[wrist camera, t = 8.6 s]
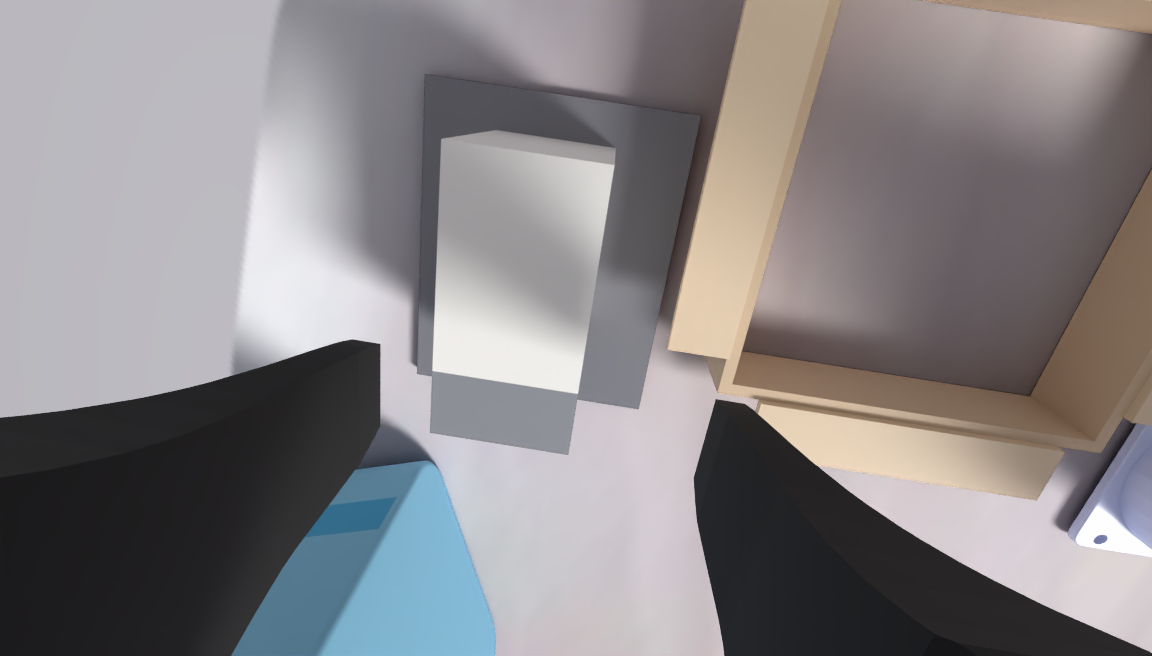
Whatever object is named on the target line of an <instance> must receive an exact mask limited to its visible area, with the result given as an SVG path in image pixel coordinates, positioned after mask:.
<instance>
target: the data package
mask: <svg viewBox="0 0 1152 656" xmlns="http://www.w3.org/2000/svg"><path fill="white" fill-rule="evenodd" d="M495 650H496V638H495V628H494V623H493V619H492V616H491V613H490V610H489V607H488V604H487V602H486V599H485V596H484V593H483V590H482V588H481V585H480V582H479V579H478V576H477V573H476V571H475V568H474V565H473V562H472V559H471V557H470V554H469V551H468V548H467V545H466V542H465V540H464V537H463V534H462V531H461V528H460V526H459V523H458V520H457V517H456V514H455V511H454V509H453V506H452V503H451V500H450V497H449V494H448V492H447V489H446V486H445V483H444V480H443V478H442V475H441V473H440V471H439V469H438V468H437V467H436V466H435V465H434V464H433V463H432V462H430V461H417V462H409V463H402V464H394V465H386V466H379V467H371V468H363V469H356V470H355V471H354V472H353V474H352V475H351V476H350V478H349V479H348V480H347V482H346V483H345V484H344V486H343V487H342V488H341V490H340V491H339V492H338V494H337V495H336V496H335V498H334V499H333V500H332V502H331V503H330V504H329V506H328V507H327V508H326V510H325V511H324V512H323V514H322V515H321V516H320V518H319V519H318V520H317V522H316V523H315V524H314V526H313V527H312V528H311V530H310V531H309V532H308V533H307V535H306V536H305V537H304V539H303V540H302V541H301V543H300V544H299V545H298V547H297V548H296V550H295V551H294V552H293V554H292V555H291V557H290V558H289V560H288V561H287V563H286V564H285V566H284V567H283V568H282V570H281V572H280V573H279V575H278V577H277V578H276V580H275V582H274V583H273V585H272V587H271V588H270V590H269V592H268V593H267V595H266V597H265V598H264V600H263V601H262V603H261V605H260V606H259V608H258V610H257V611H256V613H255V615H254V616H253V618H252V620H251V622H250V623H249V625H248V627H247V629H246V631H245V632H244V634H243V636H242V638H241V639H240V641H239V643H238V645H237V646H236V648H235V650H234V652H233V653H232V655H231V656H495Z"/></svg>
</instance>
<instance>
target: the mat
mask: <svg viewBox="0 0 1152 656" xmlns="http://www.w3.org/2000/svg"><path fill="white" fill-rule="evenodd" d="M700 119H701V115H694V114H687V113H681V112H674V111H667V110H661V109H654V108H647V107H641V106H634V105H627V104H621V103H614V102H607V101H601V100H594V99H587V98H581V97H574V96H567V95H561V94H554V93H547V92H541V91H534V90H527V89H521V88H514V87H507V86H501V85H494V84H487V83H481V82H474V81H467V80H461V79H454V78H447V77H441V76H434V75H427V74H425V90H424V128H423V166H422V204H421V243H420V281H419V319H418V357H417V374H421V375H427V376H432V366H433V340H434V314H435V288H436V263H437V237H438V211H439V185H440V159H441V139H444V138H450V137H456V136H462V135H469V134H475V133H481V132H487V131H494V130H500V131H507V132H513V133H520V134H527V135H533V136H540V137H546V138H553V139H560V140H566V141H573V142H579V143H586V144H593V145H599V146H606V147H612V148H616V153H615V166H614V172H613V178H612V185H611V191H610V197H609V203H608V210H607V216H606V222H605V228H604V235H603V241H602V247H601V253H600V260H599V266H598V272H597V278H596V285H595V291H594V297H593V303H592V310H591V316H590V322H589V328H588V335H587V341H586V347H585V353H584V359H583V366H582V372H581V378H580V384H579V391H578V397H577V399H578V400H584V401H590V402H596V403H603V404H609V405H615V406H622V407H628V408H634V409H639V405H640V400H641V396H642V391H643V386H644V382H645V377H646V372H647V367H648V363H649V358H650V353H651V349H652V344H653V339H654V335H655V330H656V325H657V321H658V316H659V311H660V306H661V302H662V297H663V292H664V288H665V283H666V278H667V274H668V269H669V264H670V260H671V255H672V250H673V245H674V241H675V236H676V231H677V227H678V222H679V217H680V213H681V208H682V203H683V199H684V194H685V189H686V184H687V180H688V175H689V170H690V166H691V161H692V156H693V152H694V147H695V142H696V138H697V133H698V128H699V123H700Z"/></svg>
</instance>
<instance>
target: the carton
mask: <svg viewBox="0 0 1152 656" xmlns="http://www.w3.org/2000/svg"><path fill="white" fill-rule="evenodd" d="M921 1H928V2H935V3H942V4H949V5H956V6H962V7H969V8H976V9H983V10H990V11H997V12H1004V13H1010V14H1017V15H1024V16H1031V17H1038V18H1045V19H1052V20H1059V21H1065V22H1072V23H1079V24H1086V25H1093V26H1100V27H1107V28H1114V29H1120V30H1127V31H1134V32H1141V33H1148V34H1152V0H921ZM841 2H842V0H744V5H743V9H742V14H741V18H740V22H739V27H738V31H737V36H736V40H735V45H734V49H733V54H732V58H731V62H730V67H729V71H728V76H727V80H726V85H725V89H724V94H723V98H722V103H721V107H720V111H719V116H718V120H717V125H716V129H715V134H714V138H713V143H712V147H711V151H710V156H709V160H708V165H707V169H706V174H705V178H704V183H703V187H702V191H701V196H700V200H699V205H698V209H697V214H696V218H695V223H694V227H693V232H692V236H691V240H690V245H689V249H688V254H687V258H686V263H685V267H684V272H683V276H682V280H681V285H680V289H679V294H678V298H677V303H676V307H675V312H674V316H673V320H672V325H671V329H670V334H669V338H668V343H667V349H668V350H672V351H679V352H685V353H691V354H698V355H704V356H705V359H706V362H707V364H708V367H709V370H710V373H711V376H712V379H713V382H714V384H715V387H716V390H717V393H722V394H728V395H734V396H740V397H747V398H753V399H759V401H758V404H757V407H756V410H755V412H756V413H757V414H758V415H760V416H761V417H762V418H763V419H764V420H765V421H766V422H768V423H769V424H770V425H771V426H772V427H773V428H774V429H775V430H777V431H778V432H779V433H780V434H781V435H782V436H783V437H784V438H785V439H787V440H788V441H789V442H790V443H791V444H792V445H793V446H794V447H796V448H797V449H798V450H799V451H800V452H801V453H802V454H804V455H805V456H806V457H807V458H808V459H809V460H811V461H812V462H813V463H814V464H815V465H818V466H824V467H830V468H836V469H843V470H849V471H855V472H861V473H868V474H874V475H880V476H886V477H893V478H899V479H905V480H911V481H918V482H924V483H930V484H936V485H943V486H949V487H955V488H961V489H968V490H974V491H980V492H986V493H993V494H999V495H1005V496H1011V497H1018V498H1024V499H1030V500H1036V501H1037V499H1038V498H1039V496H1040V494H1041V493H1042V491H1043V489H1044V487H1045V486H1046V484H1047V482H1048V481H1049V479H1050V477H1051V476H1052V474H1053V472H1054V471H1055V469H1056V467H1057V466H1058V464H1059V462H1060V461H1061V459H1062V457H1063V455H1064V454H1065V451H1063V450H1062V449H1061V448H1059V447H1063V448H1069V449H1075V450H1082V451H1088V452H1094V453H1101V452H1102V451H1103V449H1104V448H1105V446H1106V444H1107V443H1108V441H1109V440H1110V438H1111V436H1112V435H1113V433H1114V432H1115V430H1116V428H1117V427H1118V425H1119V424H1120V422H1121V420H1122V419H1123V418H1125V419H1126V420H1128V421H1130V422H1131V423H1137V424H1143V425H1149V426H1152V169H1151V171H1150V173H1149V175H1148V177H1147V179H1146V181H1145V183H1144V184H1143V186H1142V188H1141V190H1140V192H1139V194H1138V196H1137V197H1136V199H1135V201H1134V203H1133V205H1132V207H1131V209H1130V211H1129V212H1128V214H1127V216H1126V218H1125V220H1124V222H1123V224H1122V225H1121V227H1120V229H1119V231H1118V233H1117V235H1116V237H1115V239H1114V240H1113V242H1112V244H1111V246H1110V248H1109V250H1108V252H1107V253H1106V255H1105V257H1104V259H1103V261H1102V263H1101V265H1100V266H1099V268H1098V270H1097V272H1096V274H1095V276H1094V278H1093V280H1092V281H1091V283H1090V285H1089V287H1088V289H1087V291H1086V293H1085V294H1084V296H1083V298H1082V300H1081V302H1080V304H1079V306H1078V308H1077V309H1076V311H1075V313H1074V315H1073V317H1072V319H1071V321H1070V322H1069V324H1068V326H1067V328H1066V330H1065V332H1064V334H1063V336H1062V337H1061V339H1060V341H1059V343H1058V345H1057V347H1056V349H1055V350H1054V352H1053V354H1052V356H1051V358H1050V360H1049V362H1048V363H1047V365H1046V367H1045V369H1044V371H1043V373H1042V375H1041V377H1040V378H1039V380H1038V382H1037V384H1036V386H1035V388H1034V390H1033V391H1032V393H1031V395H1030V396H1024V395H1018V394H1011V393H1005V392H999V391H992V390H986V389H980V388H973V387H967V386H961V385H954V384H948V383H941V382H935V381H929V380H922V379H916V378H910V377H903V376H897V375H890V374H884V373H878V372H871V371H865V370H859V369H852V368H846V367H839V366H833V365H827V364H820V363H814V362H808V361H801V360H795V359H788V358H782V357H776V356H769V355H763V354H757V353H750V352H744V351H742V349H743V345H744V342H745V338H746V335H747V331H748V328H749V324H750V321H751V317H752V314H753V310H754V307H755V303H756V300H757V296H758V293H759V289H760V286H761V282H762V279H763V275H764V272H765V268H766V265H767V261H768V258H769V254H770V251H771V247H772V244H773V240H774V237H775V233H776V230H777V226H778V223H779V219H780V216H781V212H782V209H783V205H784V202H785V198H786V195H787V191H788V188H789V184H790V181H791V177H792V174H793V170H794V167H795V163H796V160H797V156H798V153H799V149H800V146H801V142H802V139H803V135H804V132H805V128H806V125H807V121H808V118H809V114H810V111H811V107H812V104H813V100H814V97H815V93H816V90H817V86H818V83H819V79H820V76H821V72H822V69H823V65H824V62H825V58H826V55H827V51H828V48H829V44H830V41H831V37H832V34H833V30H834V27H835V23H836V20H837V16H838V13H839V9H840V6H841Z"/></svg>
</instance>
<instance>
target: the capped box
mask: <svg viewBox="0 0 1152 656" xmlns="http://www.w3.org/2000/svg"><path fill="white" fill-rule="evenodd" d="M615 153H616V148H612V147H606V146H599V145H593V144H586V143H579V142H573V141H566V140H560V139H553V138H546V137H540V136H533V135H527V134H520V133H513V132H507V131H500V130H494V131H487V132H481V133H475V134H469V135H462V136H456V137H450V138H444V139H441V159H440V185H439V211H438V237H437V263H436V288H435V314H434V340H433V366H432V392H431V418H430V433H435V434H441V435H447V436H454V437H460V438H466V439H472V440H478V441H485V442H491V443H497V444H503V445H509V446H516V447H522V448H528V449H534V450H541V451H547V452H553V453H559V454H565V455H568V453H569V447H570V441H571V434H572V428H573V422H574V416H575V409H576V403H577V397H578V391H579V384H580V378H581V372H582V366H583V359H584V353H585V347H586V341H587V335H588V328H589V322H590V316H591V310H592V303H593V297H594V291H595V285H596V278H597V272H598V266H599V260H600V253H601V247H602V241H603V235H604V228H605V222H606V216H607V210H608V203H609V197H610V191H611V185H612V178H613V172H614V166H615Z"/></svg>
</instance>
